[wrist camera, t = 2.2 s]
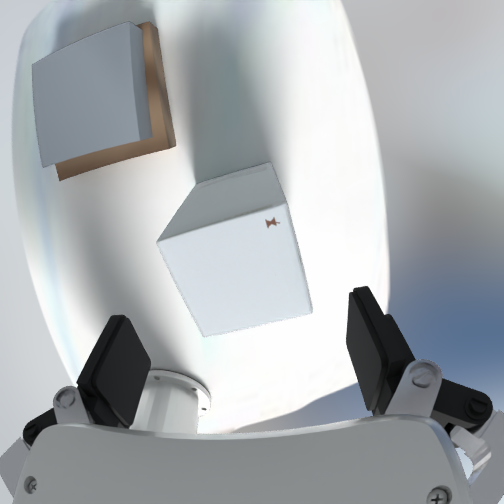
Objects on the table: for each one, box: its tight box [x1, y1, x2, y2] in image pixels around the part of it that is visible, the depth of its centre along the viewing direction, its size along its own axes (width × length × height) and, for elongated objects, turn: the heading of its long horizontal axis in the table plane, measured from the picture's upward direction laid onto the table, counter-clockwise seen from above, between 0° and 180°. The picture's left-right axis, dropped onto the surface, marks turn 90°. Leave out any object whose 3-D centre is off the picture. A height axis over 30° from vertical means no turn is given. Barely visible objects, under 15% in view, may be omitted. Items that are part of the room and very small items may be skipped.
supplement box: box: [156, 162, 313, 337], centre depth 21 cm, size 7×7×13 cm
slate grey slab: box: [32, 21, 153, 168], centre depth 18 cm, size 10×10×3 cm
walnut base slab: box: [55, 22, 176, 181], centre depth 21 cm, size 12×12×3 cm
